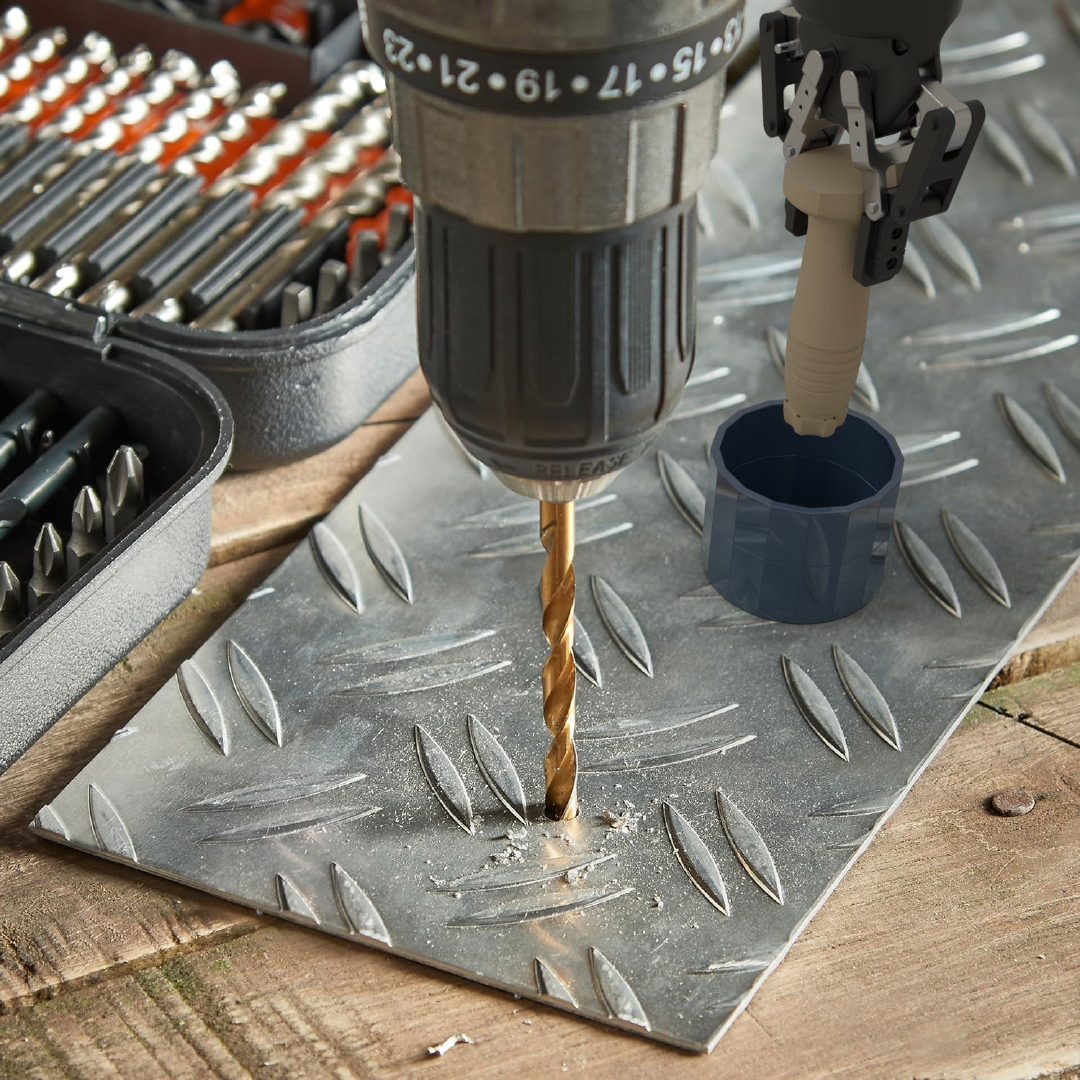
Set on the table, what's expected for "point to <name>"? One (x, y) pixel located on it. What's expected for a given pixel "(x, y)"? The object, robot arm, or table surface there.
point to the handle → (826, 290)
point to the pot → (799, 514)
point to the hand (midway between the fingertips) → (838, 253)
